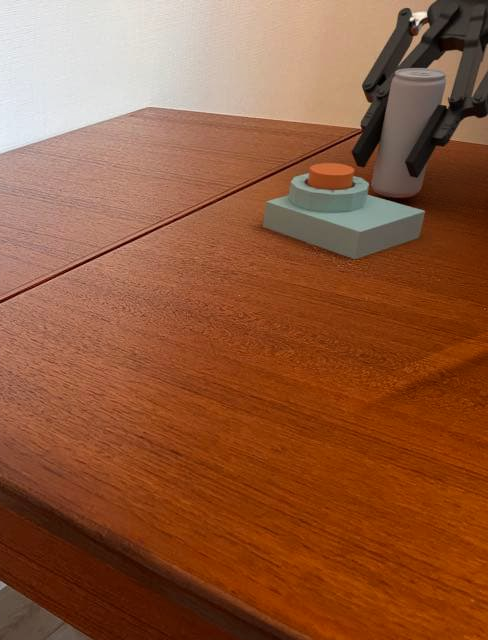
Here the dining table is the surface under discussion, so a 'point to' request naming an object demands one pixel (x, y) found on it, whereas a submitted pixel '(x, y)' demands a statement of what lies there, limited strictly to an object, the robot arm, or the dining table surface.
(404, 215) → the control box
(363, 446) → the dining table surface
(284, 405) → the dining table surface
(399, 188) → the beverage can
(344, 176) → the button
